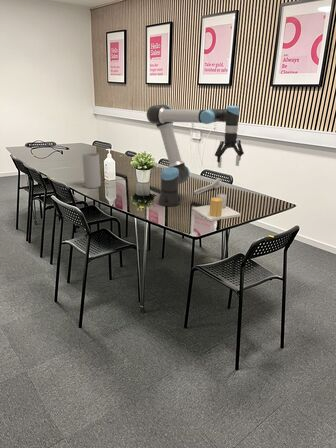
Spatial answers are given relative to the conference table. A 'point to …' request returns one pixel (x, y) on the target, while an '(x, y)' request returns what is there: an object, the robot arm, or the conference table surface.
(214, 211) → the wire cap
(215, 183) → the wrench
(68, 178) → the conference table surface
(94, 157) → the cylinder vase
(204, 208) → the plate
